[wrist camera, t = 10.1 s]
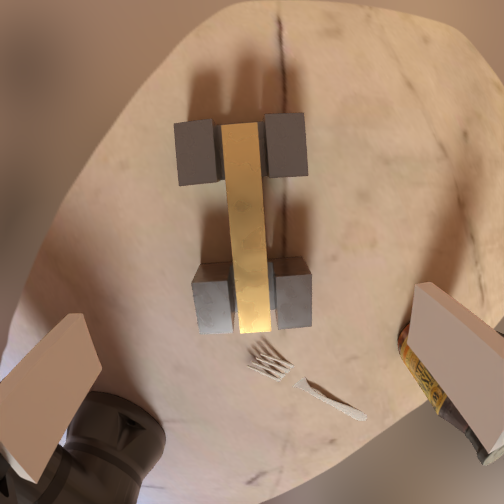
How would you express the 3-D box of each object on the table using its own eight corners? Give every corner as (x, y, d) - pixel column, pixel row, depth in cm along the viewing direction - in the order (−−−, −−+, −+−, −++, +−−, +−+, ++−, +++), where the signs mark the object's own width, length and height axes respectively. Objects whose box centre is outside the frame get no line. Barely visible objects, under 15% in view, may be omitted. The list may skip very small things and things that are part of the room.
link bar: (241, 301, 30) (240, 333, 24) (227, 133, 26) (221, 125, 20) (267, 300, 30) (271, 331, 24) (255, 131, 26) (257, 122, 20)
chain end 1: (190, 182, 28) (179, 186, 23) (186, 130, 26) (173, 123, 22) (298, 173, 28) (308, 175, 23) (294, 121, 26) (303, 112, 21)
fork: (369, 429, 38) (372, 437, 36) (243, 359, 34) (243, 368, 32) (385, 417, 37) (388, 424, 36) (261, 341, 33) (262, 350, 31)
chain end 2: (206, 309, 31) (199, 334, 27) (200, 264, 30) (191, 282, 25) (302, 302, 31) (311, 326, 26) (302, 256, 30) (311, 274, 25)
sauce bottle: (400, 316, 32) (499, 434, 13) (440, 311, 32) (541, 409, 13) (388, 361, 34) (462, 482, 15) (428, 355, 34) (507, 458, 15)
